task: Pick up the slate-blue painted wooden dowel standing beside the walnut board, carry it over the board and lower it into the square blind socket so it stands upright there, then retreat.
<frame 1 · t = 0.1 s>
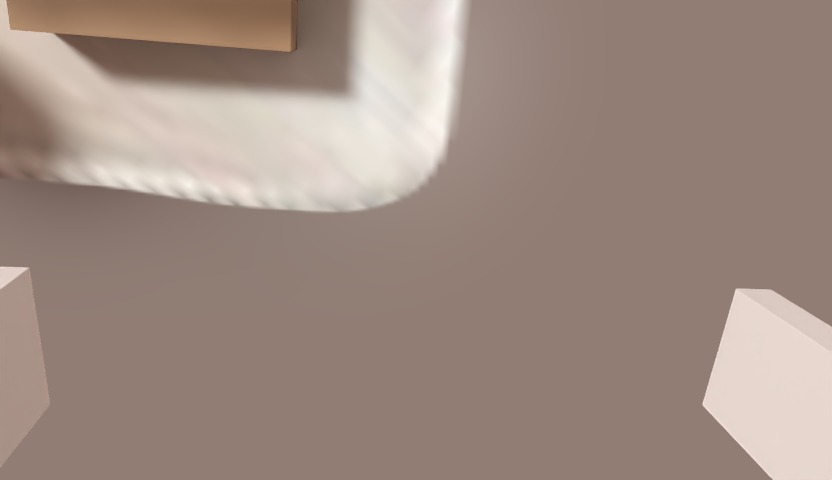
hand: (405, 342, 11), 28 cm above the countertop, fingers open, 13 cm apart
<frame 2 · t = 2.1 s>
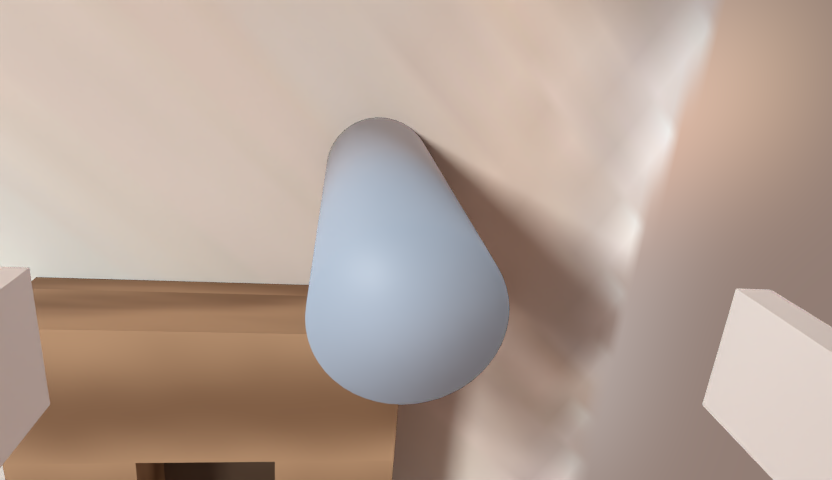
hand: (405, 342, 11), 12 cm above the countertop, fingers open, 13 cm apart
board: (228, 444, 26), on the countertop
dowel: (379, 169, 22), on the countertop
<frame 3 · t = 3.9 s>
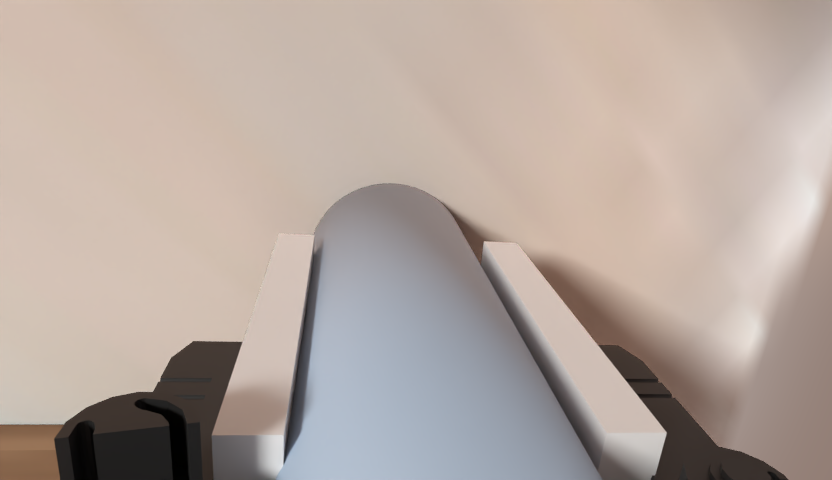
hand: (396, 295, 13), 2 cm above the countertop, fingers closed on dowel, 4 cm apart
dowel: (387, 258, 15), on the countertop, touching gripper
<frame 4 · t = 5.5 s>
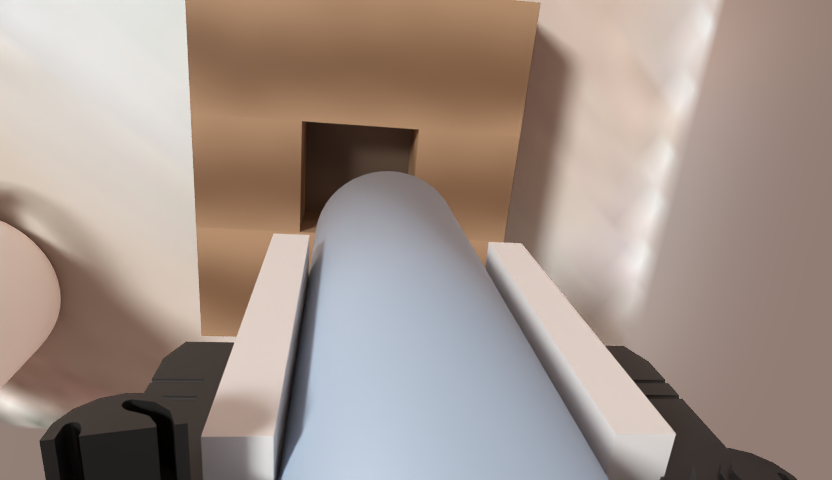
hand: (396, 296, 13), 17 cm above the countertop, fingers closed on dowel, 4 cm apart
board: (357, 160, 29), on the countertop
dowel: (386, 240, 16), point 14 cm above the countertop, touching gripper
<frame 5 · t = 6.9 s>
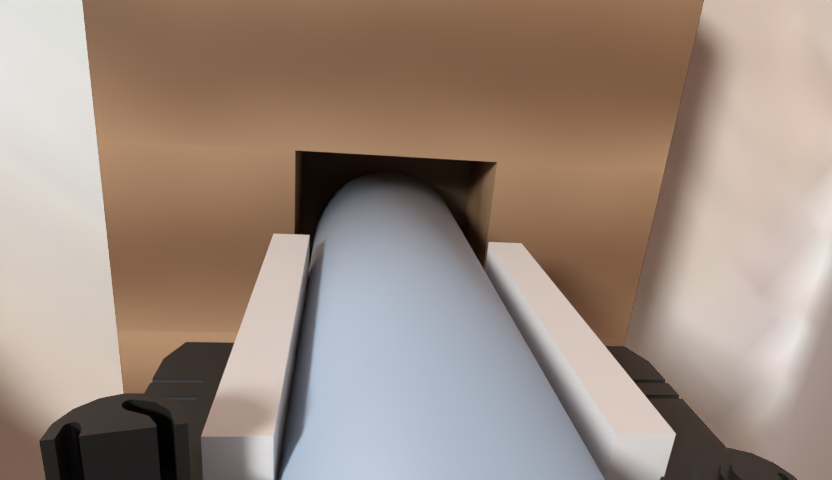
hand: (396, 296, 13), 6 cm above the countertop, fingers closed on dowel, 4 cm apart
board: (383, 206, 19), on the countertop
dowel: (385, 240, 17), point 3 cm above the countertop, touching gripper
when the fingers open (5 cm above the countertop, at t = 7.4 s): dowel stays where it is, resting on board.
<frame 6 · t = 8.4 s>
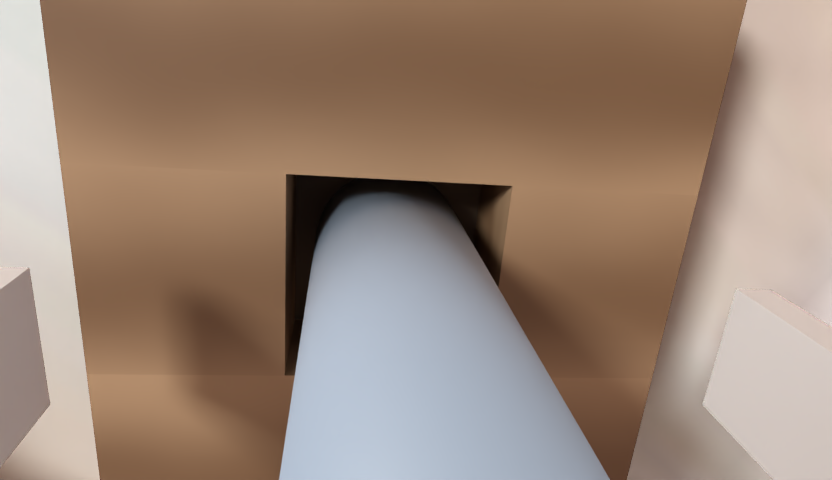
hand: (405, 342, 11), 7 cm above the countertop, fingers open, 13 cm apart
board: (384, 228, 17), on the countertop
dowel: (388, 241, 16), point 1 cm above the countertop, touching board
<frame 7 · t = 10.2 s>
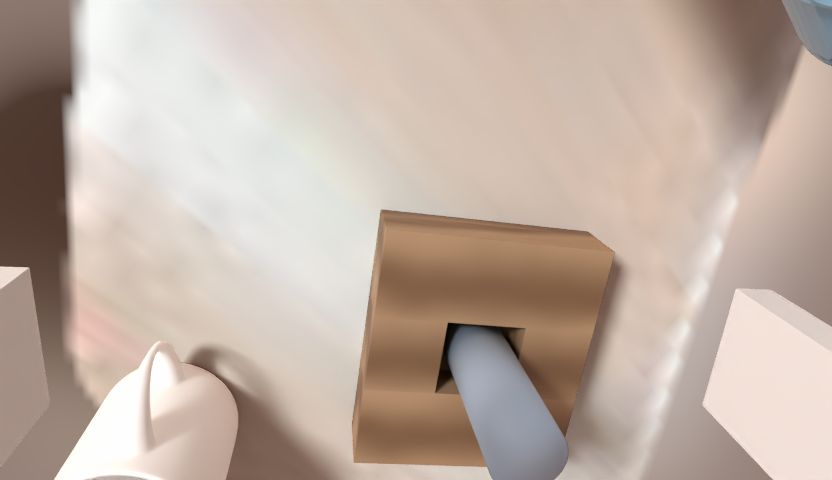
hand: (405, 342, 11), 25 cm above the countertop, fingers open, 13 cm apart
board: (466, 330, 40), on the countertop
dowel: (470, 338, 39), point 1 cm above the countertop, touching board
mug: (176, 389, 39), on the countertop
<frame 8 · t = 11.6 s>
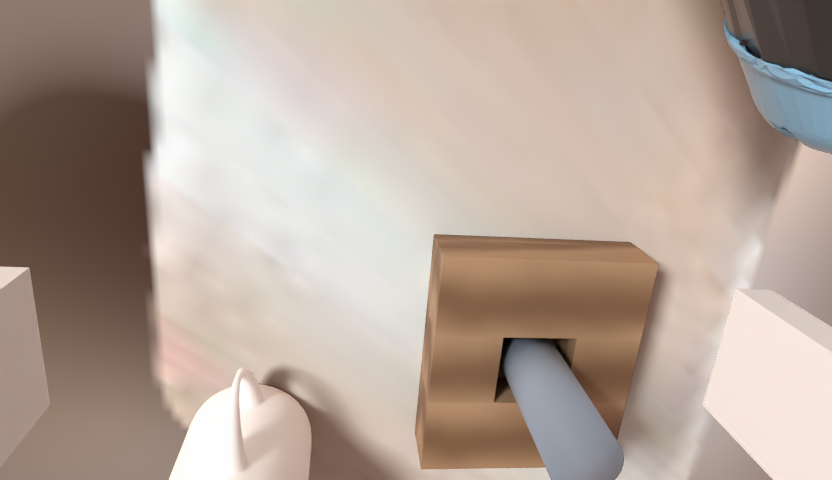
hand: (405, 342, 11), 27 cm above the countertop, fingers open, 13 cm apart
board: (518, 341, 43), on the countertop
dowel: (523, 348, 41), point 1 cm above the countertop, touching board
mug: (253, 407, 42), on the countertop
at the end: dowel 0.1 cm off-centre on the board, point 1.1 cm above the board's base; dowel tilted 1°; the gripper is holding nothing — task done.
